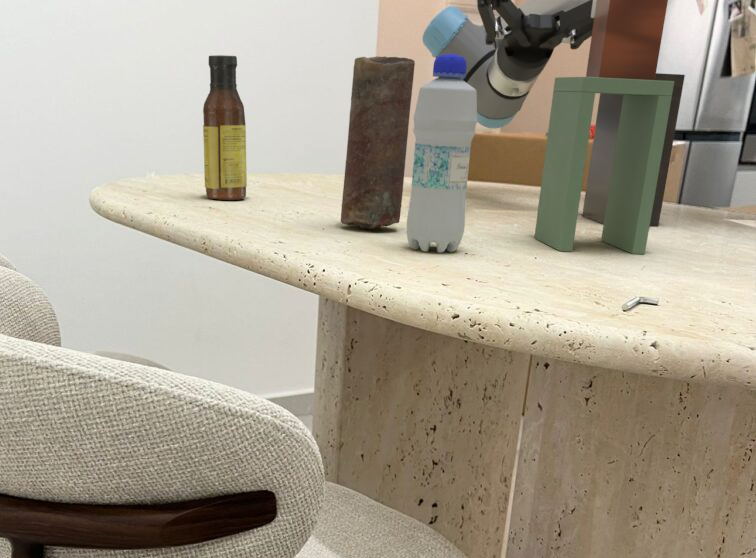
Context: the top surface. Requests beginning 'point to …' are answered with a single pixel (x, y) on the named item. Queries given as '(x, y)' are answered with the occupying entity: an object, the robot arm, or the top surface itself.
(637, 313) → the top surface
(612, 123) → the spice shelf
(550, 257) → the top surface
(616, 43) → the brown box
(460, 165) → the bottle
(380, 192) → the rusty brown cylinder
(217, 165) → the sauce bottle
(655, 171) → the green arch
